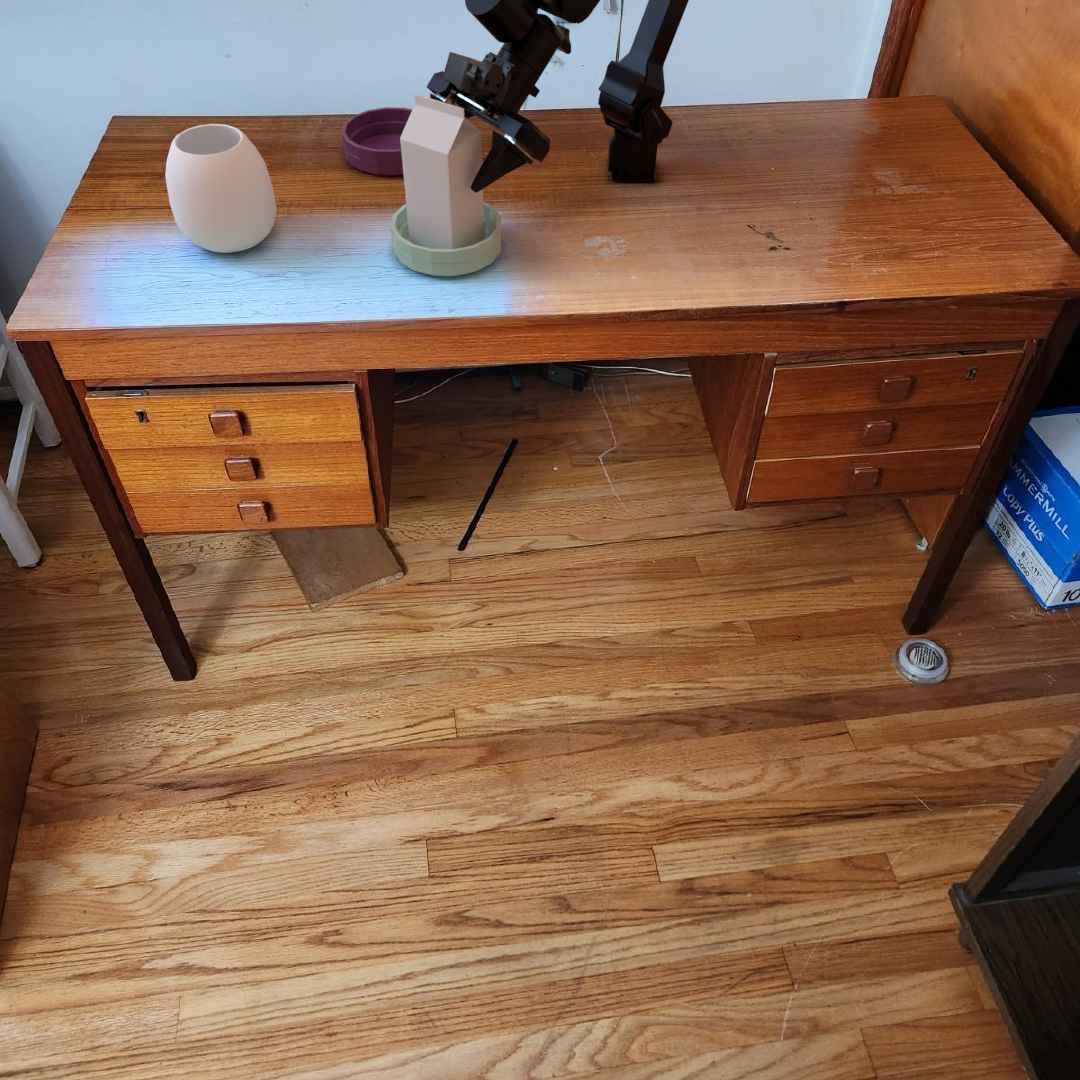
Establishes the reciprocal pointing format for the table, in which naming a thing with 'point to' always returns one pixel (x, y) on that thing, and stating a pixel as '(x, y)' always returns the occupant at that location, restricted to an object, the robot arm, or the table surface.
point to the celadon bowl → (447, 259)
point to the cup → (219, 188)
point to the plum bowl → (375, 140)
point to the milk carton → (442, 176)
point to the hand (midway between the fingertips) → (451, 176)
